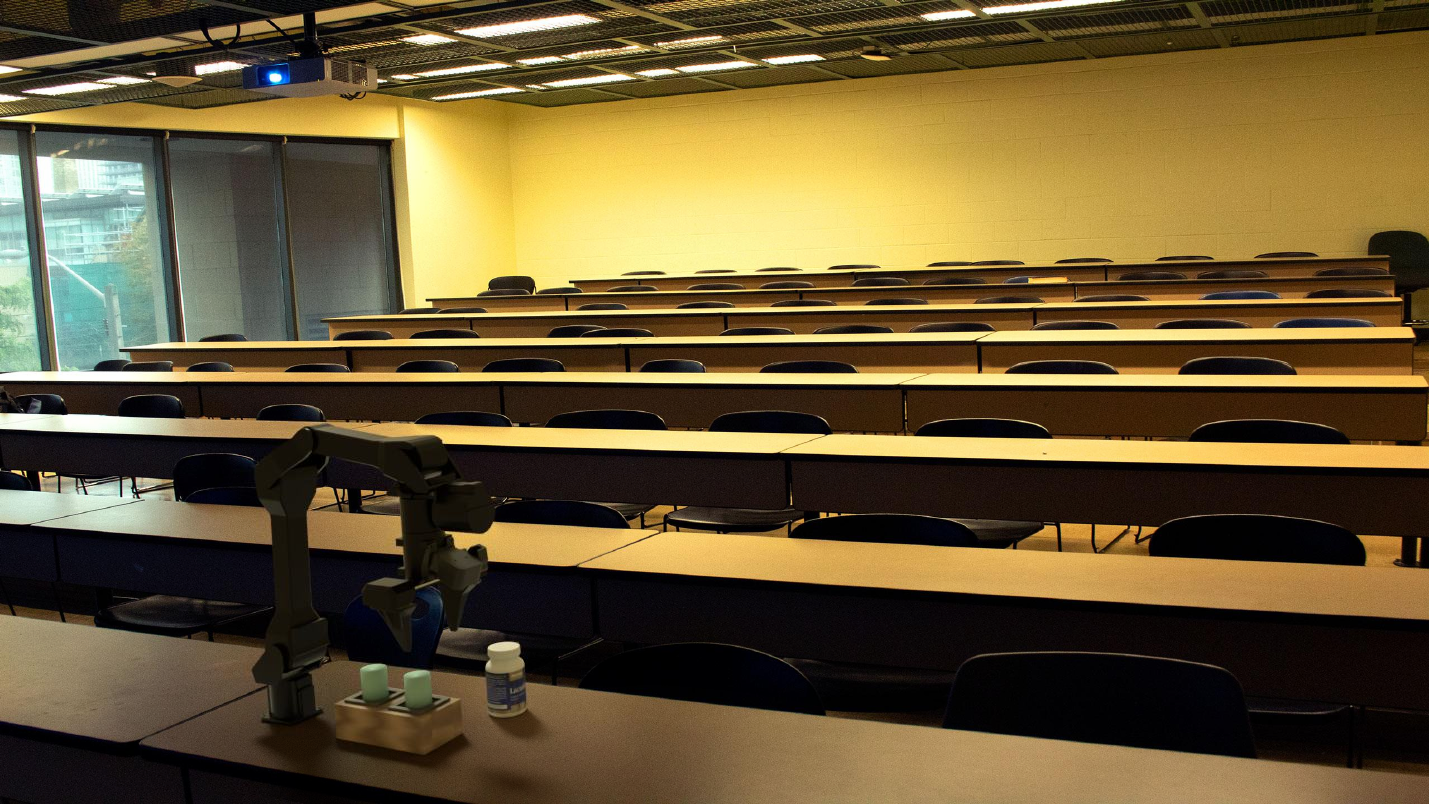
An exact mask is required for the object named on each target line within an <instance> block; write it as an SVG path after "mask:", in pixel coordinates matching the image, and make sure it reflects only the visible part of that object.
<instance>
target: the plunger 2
mask: <svg viewBox="0 0 1429 804" xmlns="http://www.w3.org/2000/svg"><path fill="white" fill-rule="evenodd" d="M403 684H404V685H403V686H404V687H403V688H404V689H403V690H405V703H406V708H412V709H418V710H421V709H423V708H425V707H427V706H429V705H431V704H432V694H433V692H432V691H433V690H432V677H431V672H430V671H428V670H423V669H422V670H412V671H409V672H407V673H405V674H404V675H403Z"/></svg>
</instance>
